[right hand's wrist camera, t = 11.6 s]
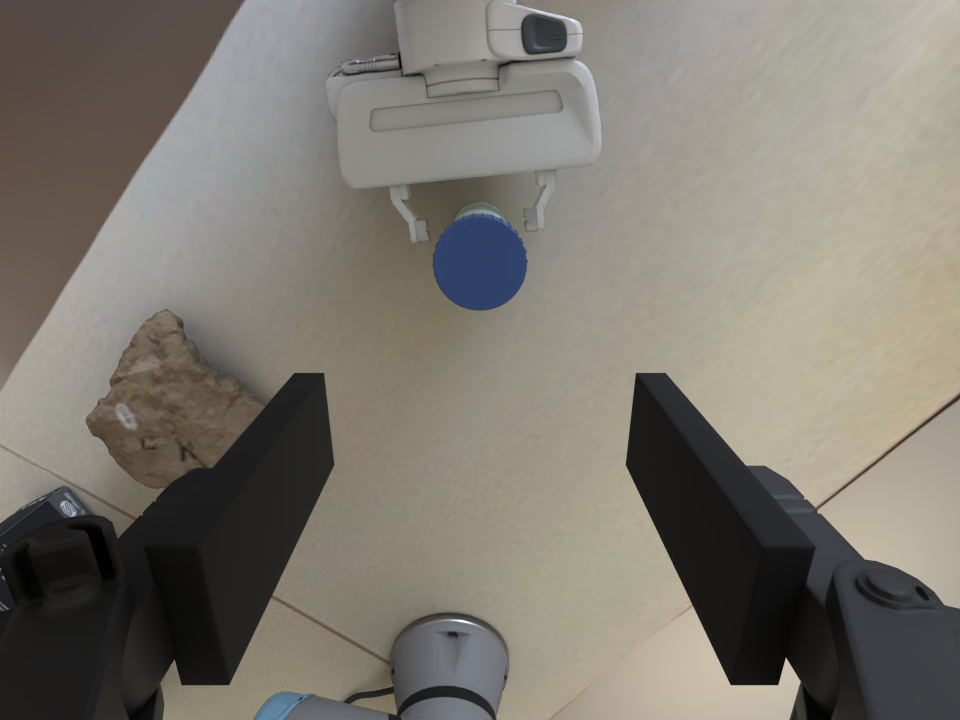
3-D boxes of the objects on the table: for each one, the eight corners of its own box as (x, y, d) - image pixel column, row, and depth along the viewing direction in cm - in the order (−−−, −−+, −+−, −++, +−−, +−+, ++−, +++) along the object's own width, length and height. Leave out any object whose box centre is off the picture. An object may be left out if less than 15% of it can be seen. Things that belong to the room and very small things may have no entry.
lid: (480, 192, 35) (480, 194, 33) (543, 259, 37) (547, 266, 35) (415, 258, 37) (412, 264, 35) (479, 320, 38) (479, 330, 36)
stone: (58, 397, 53) (29, 423, 48) (170, 299, 53) (153, 314, 48) (227, 514, 62) (219, 547, 57) (323, 430, 62) (323, 456, 57)
